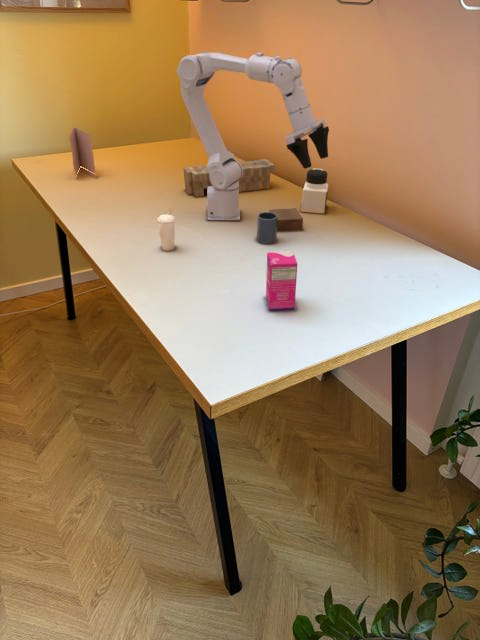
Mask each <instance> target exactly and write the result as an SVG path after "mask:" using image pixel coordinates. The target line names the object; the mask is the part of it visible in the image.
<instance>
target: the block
mask: <svg viewBox="0 0 480 640" xmlns="http://www.w3.org/2000/svg"><path fill="white" fill-rule="evenodd" d="M268 212H271V213H275V214H276V215H277V216H278V220H277V233H278V232H279V233H280V232H297V231H298V232H299V231H303V227H304V226H303V225H304V217H302V215H301V213H300V212H299V211H298V208H296V207H295V208H293V207H292V208H273V209H272V208H271V209H269V211H268Z"/></svg>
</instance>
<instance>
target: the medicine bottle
mask: <svg viewBox="0 0 480 640" xmlns="http://www.w3.org/2000/svg"><path fill="white" fill-rule="evenodd" d="M327 181H328V172H327V171H326V170H324V169H322V168H310V169H308V170H307V171H306V180H305V183H304V186H303V189H302V195H301V197H302V198H301V209H300V211H301V212H302V213H310V214H311V213H312V214H322V215H323V214H325V213H326V207H327V201H328V193H329V192H328V191H329V183H327Z"/></svg>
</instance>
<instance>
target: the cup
mask: <svg viewBox="0 0 480 640" xmlns="http://www.w3.org/2000/svg"><path fill="white" fill-rule="evenodd" d="M256 219H257V220H256V221H257V222H256V241H257V243H259V244H262V245H273V244H274V243H276V242H277V237H278V236H277V235H278V232H277V220H278V216H277V215H276V214H275V213H271V212H269V211H263V212H259V213H258V214H257V217H256Z"/></svg>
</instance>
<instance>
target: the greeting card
mask: <svg viewBox="0 0 480 640" xmlns="http://www.w3.org/2000/svg"><path fill="white" fill-rule="evenodd" d="M68 137H69V144H70V149H71V156H72V165H73V170H74V174H75V181H77V180H78V178H79V176H80V174H81V172H84V173H86V174H88V175H89V176H92V177H94V178H96V179H97V172H96V166H95V158H94V151H93V144H92V137H91V133H90V132H87V131H85V130H82V129H79V128H77V127H73V128H72V130H71V132H70V134H69V136H68ZM80 166H82V167H84V168H86V169H88V170H89V171H91V172H93V173H95V174H96V175H95V174H93V173H91V172H89V171H87V170H85V169H83V168H80ZM79 168H80V170H79ZM78 170H79V172H78ZM77 172H78V174H77ZM76 175H77V177H76Z"/></svg>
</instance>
